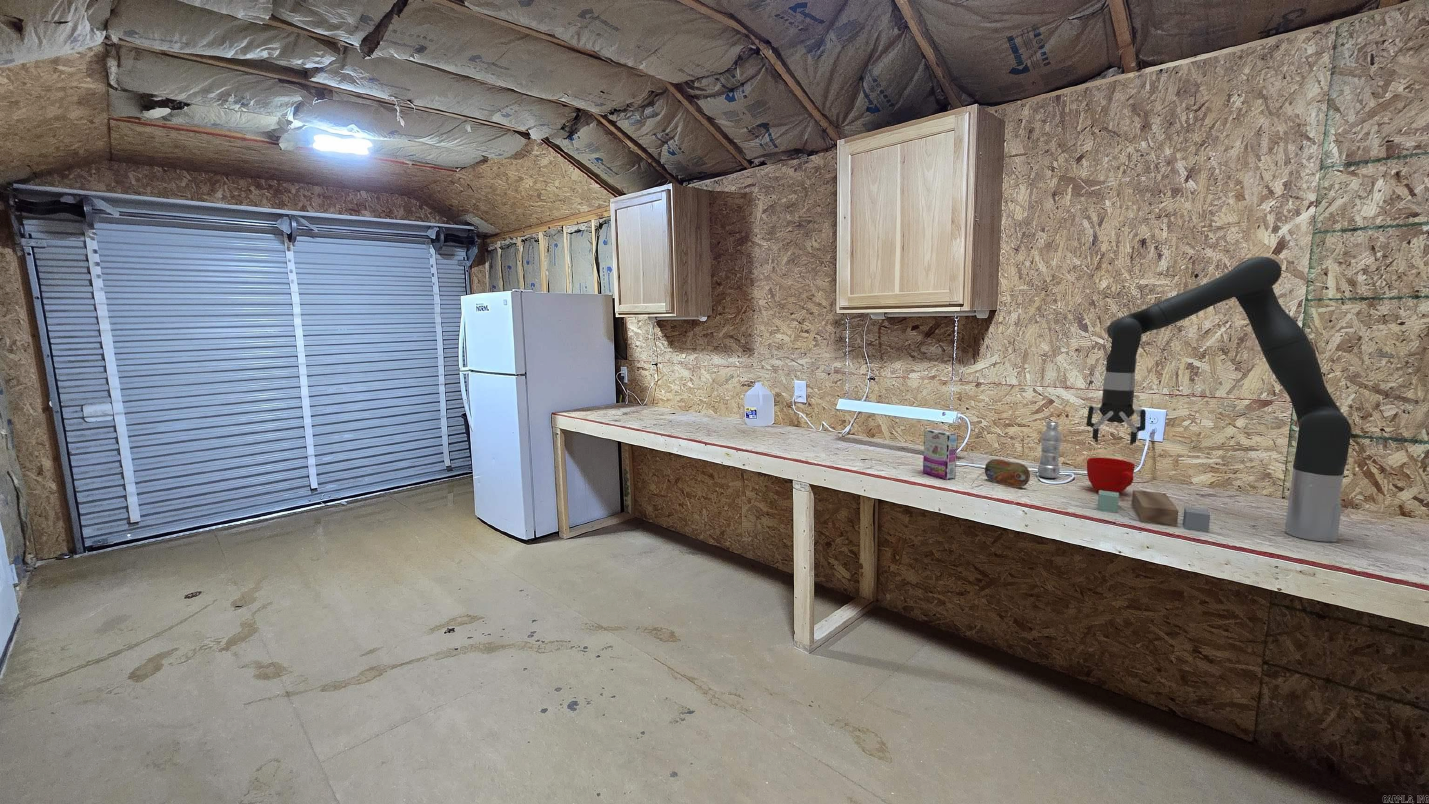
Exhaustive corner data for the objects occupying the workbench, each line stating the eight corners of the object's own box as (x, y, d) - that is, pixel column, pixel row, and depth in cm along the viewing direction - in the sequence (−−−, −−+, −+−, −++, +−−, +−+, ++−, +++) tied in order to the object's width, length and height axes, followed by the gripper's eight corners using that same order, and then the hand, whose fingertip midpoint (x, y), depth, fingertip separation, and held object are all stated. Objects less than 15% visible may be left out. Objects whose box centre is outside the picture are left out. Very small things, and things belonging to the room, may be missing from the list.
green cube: (1117, 508, 179) (1118, 492, 178) (1117, 513, 174) (1119, 496, 174) (1097, 506, 181) (1098, 490, 181) (1097, 510, 177) (1098, 494, 176)
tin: (983, 480, 210) (985, 456, 209) (988, 479, 212) (990, 455, 210) (1025, 490, 197) (1027, 465, 196) (1030, 489, 199) (1032, 464, 198)
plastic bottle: (1039, 474, 218) (1043, 420, 215) (1060, 477, 214) (1065, 422, 211) (1035, 477, 213) (1039, 422, 210) (1057, 481, 209) (1061, 424, 206)
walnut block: (1163, 509, 179) (1165, 493, 178) (1176, 528, 163) (1178, 510, 162) (1131, 505, 182) (1133, 489, 182) (1140, 523, 167) (1142, 506, 166)
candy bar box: (956, 478, 212) (958, 433, 210) (946, 480, 210) (948, 434, 207) (931, 471, 222) (933, 428, 219) (921, 473, 219) (924, 429, 217)
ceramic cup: (1108, 501, 185) (1111, 470, 184) (1076, 486, 202) (1078, 457, 201) (1150, 501, 185) (1153, 470, 184) (1114, 486, 202) (1117, 457, 201)
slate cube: (1205, 527, 163) (1208, 509, 162) (1208, 533, 158) (1210, 514, 158) (1182, 524, 165) (1184, 506, 165) (1184, 529, 161) (1186, 511, 161)
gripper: (1148, 388, 172) (1142, 443, 174) (1090, 385, 180) (1085, 438, 182) (1149, 390, 166) (1143, 448, 168) (1089, 387, 174) (1084, 442, 176)
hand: (1113, 442), depth 175 cm, fingers open, 8 cm apart
